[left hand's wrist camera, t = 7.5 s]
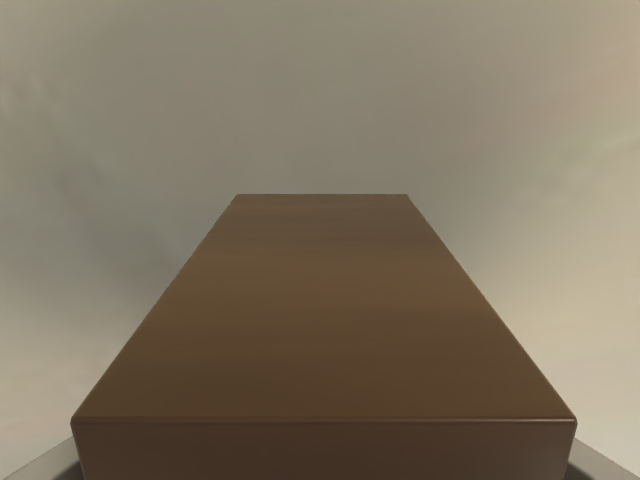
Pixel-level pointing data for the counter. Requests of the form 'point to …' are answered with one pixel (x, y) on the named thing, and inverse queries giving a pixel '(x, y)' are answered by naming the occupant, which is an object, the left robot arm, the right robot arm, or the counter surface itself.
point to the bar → (323, 360)
